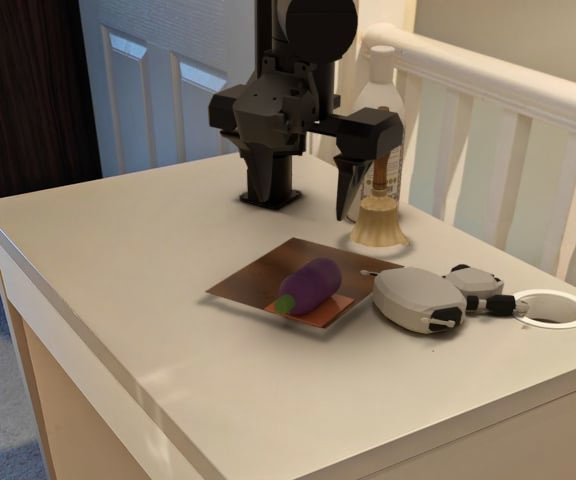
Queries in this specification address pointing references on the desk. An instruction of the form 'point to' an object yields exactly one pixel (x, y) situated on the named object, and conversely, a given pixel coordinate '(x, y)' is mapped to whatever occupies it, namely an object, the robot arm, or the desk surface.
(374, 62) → the bath foam
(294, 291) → the eggplant
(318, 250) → the board
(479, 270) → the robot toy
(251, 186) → the robot arm
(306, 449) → the desk surface
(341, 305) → the corner square
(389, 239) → the hand bell
